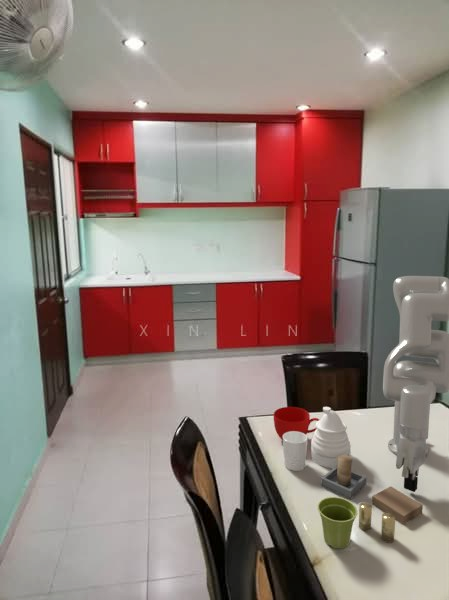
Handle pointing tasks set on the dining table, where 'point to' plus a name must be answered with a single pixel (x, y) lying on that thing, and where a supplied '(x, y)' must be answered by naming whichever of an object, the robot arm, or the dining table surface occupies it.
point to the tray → (348, 492)
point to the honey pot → (329, 440)
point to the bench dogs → (387, 522)
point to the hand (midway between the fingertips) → (410, 488)
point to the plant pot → (337, 520)
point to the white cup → (294, 450)
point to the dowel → (344, 470)
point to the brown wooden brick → (397, 505)
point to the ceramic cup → (292, 420)
